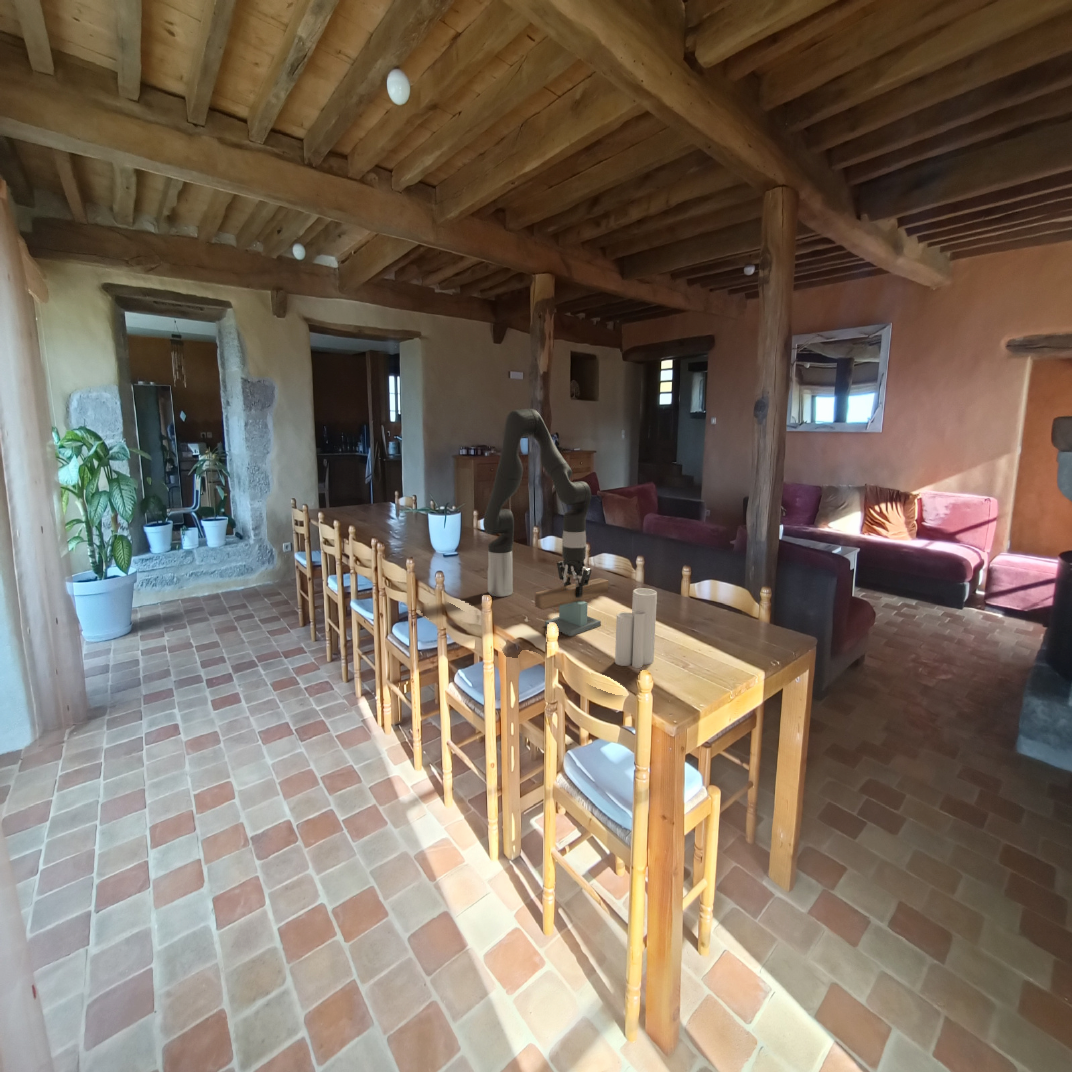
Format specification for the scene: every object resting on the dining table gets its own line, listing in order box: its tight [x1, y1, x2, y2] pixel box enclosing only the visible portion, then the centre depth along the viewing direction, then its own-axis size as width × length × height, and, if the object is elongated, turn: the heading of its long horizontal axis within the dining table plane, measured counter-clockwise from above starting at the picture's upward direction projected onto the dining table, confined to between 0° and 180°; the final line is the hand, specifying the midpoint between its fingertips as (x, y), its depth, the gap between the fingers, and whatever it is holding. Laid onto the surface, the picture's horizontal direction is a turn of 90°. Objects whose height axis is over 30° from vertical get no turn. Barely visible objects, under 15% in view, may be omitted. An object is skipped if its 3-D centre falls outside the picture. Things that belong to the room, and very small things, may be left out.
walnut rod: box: [534, 577, 609, 611], centre depth 176 cm, size 4×28×4 cm, turn 127°
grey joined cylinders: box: [614, 587, 658, 669], centre depth 150 cm, size 11×7×20 cm, turn 120°
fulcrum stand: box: [544, 600, 602, 637], centre depth 177 cm, size 12×14×9 cm
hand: (573, 595), depth 176 cm, fingers open, 4 cm apart
